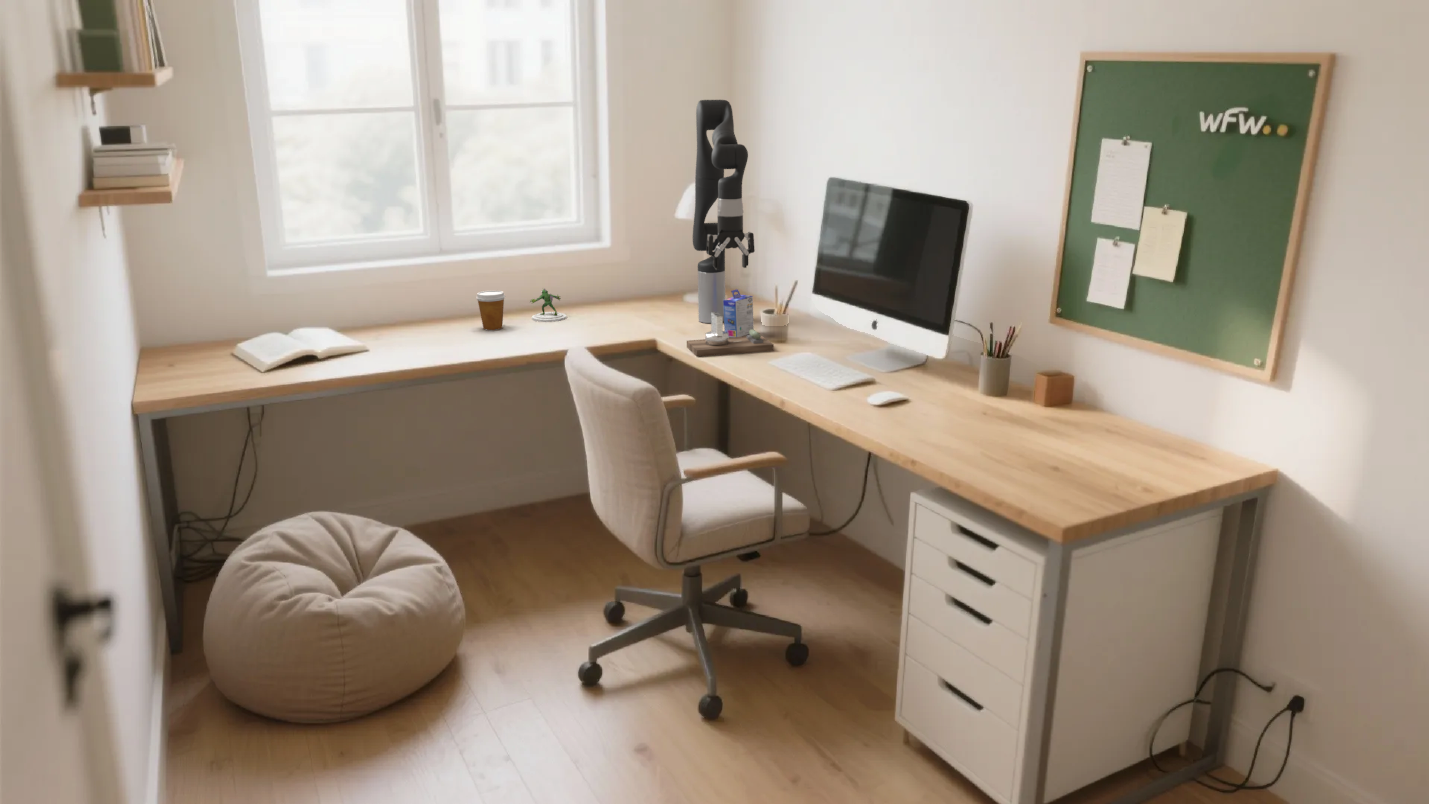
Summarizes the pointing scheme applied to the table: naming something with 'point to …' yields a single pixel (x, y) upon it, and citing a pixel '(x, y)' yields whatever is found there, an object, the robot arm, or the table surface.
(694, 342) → the board
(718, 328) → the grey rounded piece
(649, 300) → the table surface
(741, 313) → the ink cartridge box
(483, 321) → the disposable coffee cup
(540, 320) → the monster figurine
